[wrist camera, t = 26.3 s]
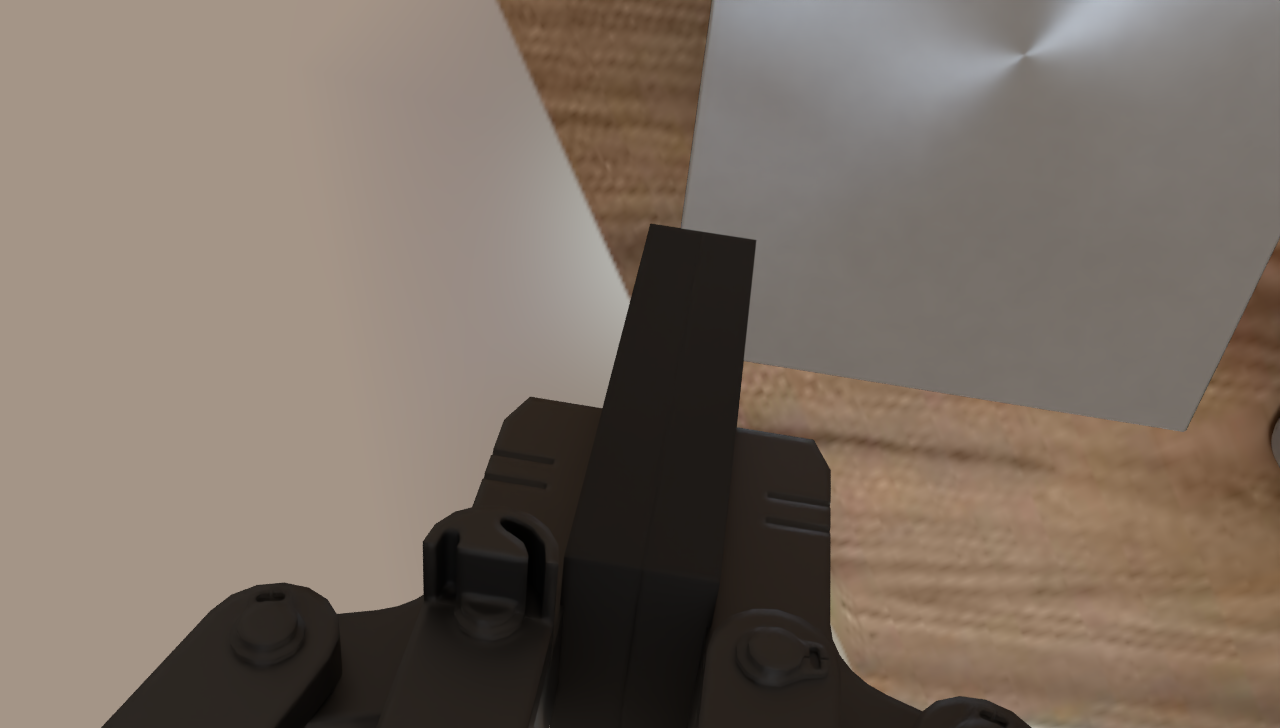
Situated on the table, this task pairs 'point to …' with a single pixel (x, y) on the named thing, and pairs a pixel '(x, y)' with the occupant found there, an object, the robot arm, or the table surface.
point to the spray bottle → (1276, 442)
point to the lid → (996, 191)
